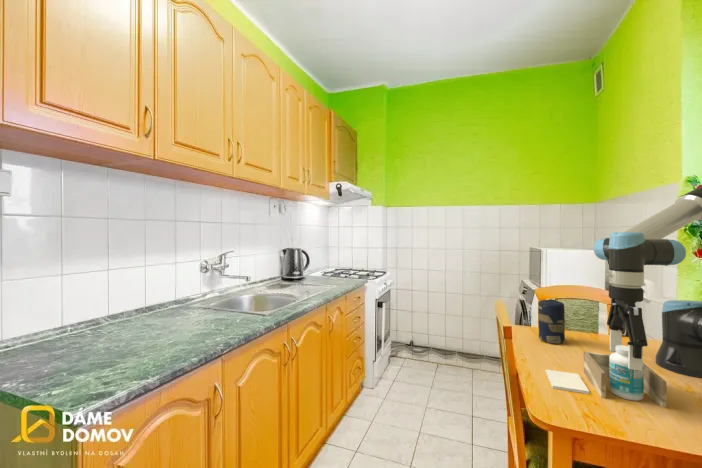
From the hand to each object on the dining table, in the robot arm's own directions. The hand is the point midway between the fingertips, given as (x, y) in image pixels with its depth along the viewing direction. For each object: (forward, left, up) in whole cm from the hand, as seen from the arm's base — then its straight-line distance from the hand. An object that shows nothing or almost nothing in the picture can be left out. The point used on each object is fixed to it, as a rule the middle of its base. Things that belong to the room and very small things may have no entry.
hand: (624, 360), depth 90 cm
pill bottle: (0, 0, -10) cm, 10 cm away
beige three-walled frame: (0, -4, -10) cm, 11 cm away
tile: (+14, -3, -10) cm, 17 cm away
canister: (+11, -44, -10) cm, 46 cm away
